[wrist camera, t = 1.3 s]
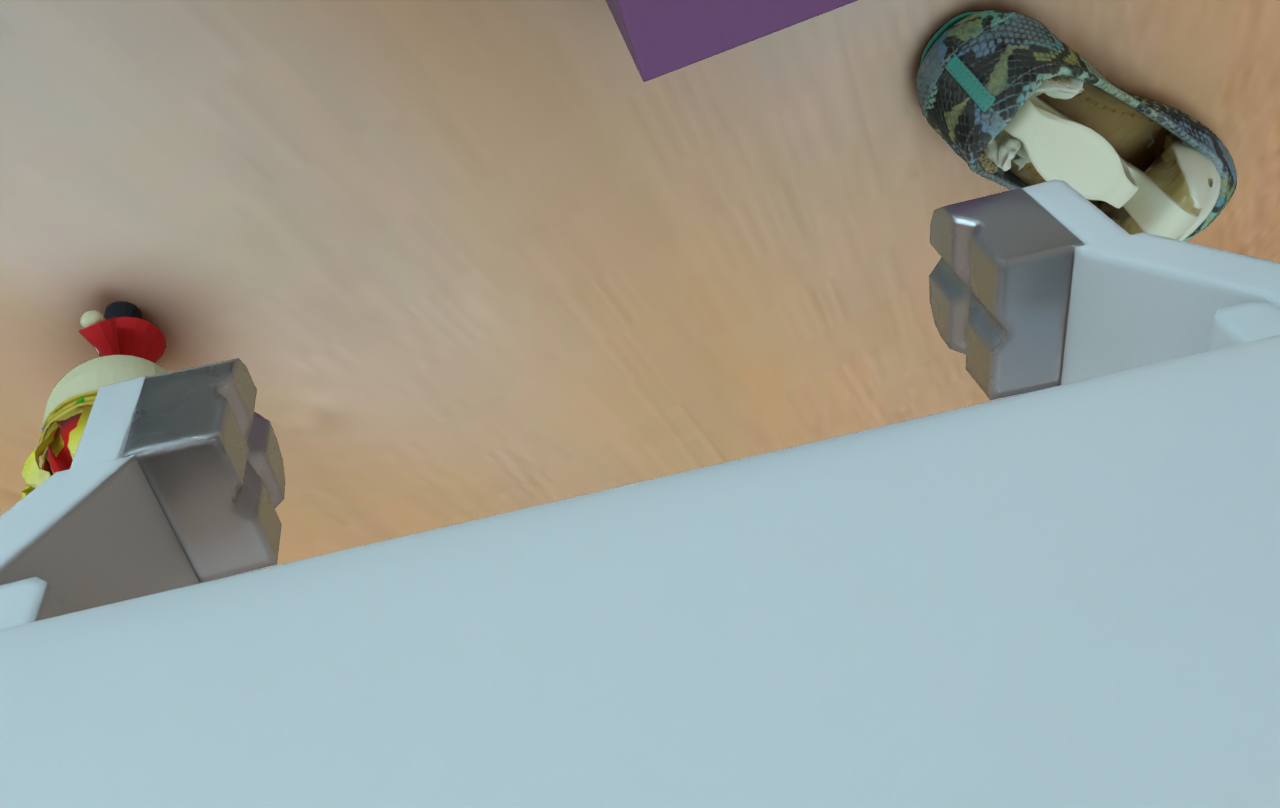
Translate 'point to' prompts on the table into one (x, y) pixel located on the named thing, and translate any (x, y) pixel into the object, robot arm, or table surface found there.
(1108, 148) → the ballet flat
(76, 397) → the toy
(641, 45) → the folder lid
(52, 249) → the table surface
